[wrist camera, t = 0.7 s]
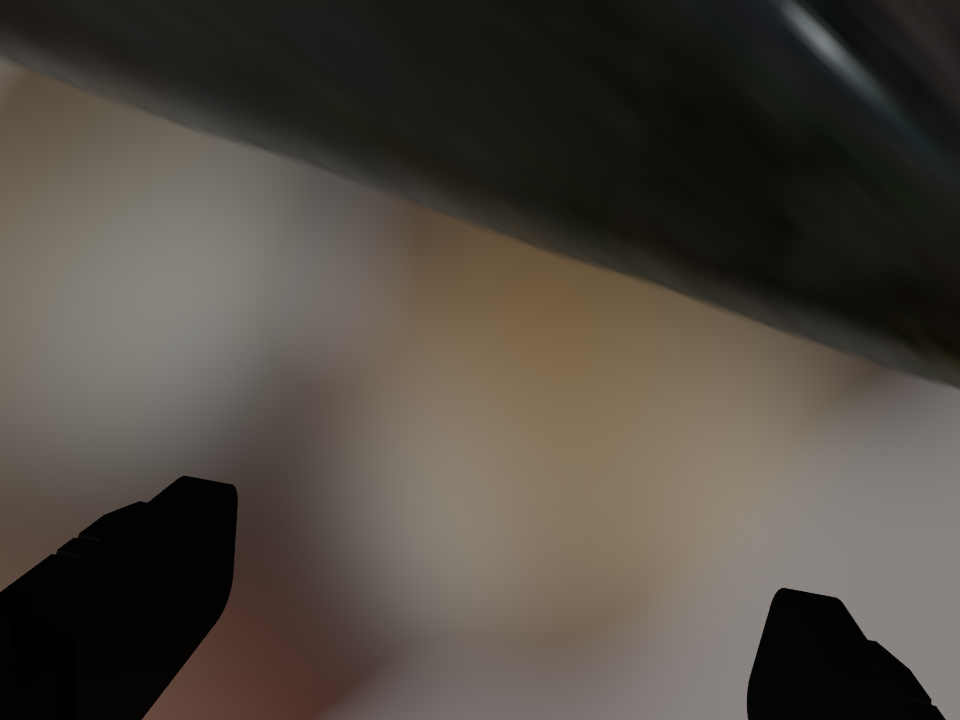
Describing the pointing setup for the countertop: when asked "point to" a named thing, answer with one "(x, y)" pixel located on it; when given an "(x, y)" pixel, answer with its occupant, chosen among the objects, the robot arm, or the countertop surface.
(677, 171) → the countertop surface
